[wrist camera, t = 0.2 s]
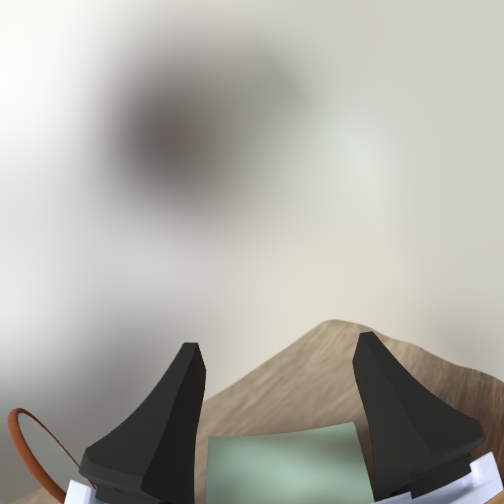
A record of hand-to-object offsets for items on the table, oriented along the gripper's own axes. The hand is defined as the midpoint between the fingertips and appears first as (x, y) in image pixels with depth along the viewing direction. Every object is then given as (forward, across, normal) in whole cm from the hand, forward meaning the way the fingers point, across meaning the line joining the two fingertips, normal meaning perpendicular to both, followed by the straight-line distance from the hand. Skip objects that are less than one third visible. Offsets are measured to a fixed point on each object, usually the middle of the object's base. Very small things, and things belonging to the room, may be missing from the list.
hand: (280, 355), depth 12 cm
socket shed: (-7, -1, +21) cm, 22 cm away
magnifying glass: (-6, +13, +21) cm, 26 cm away
